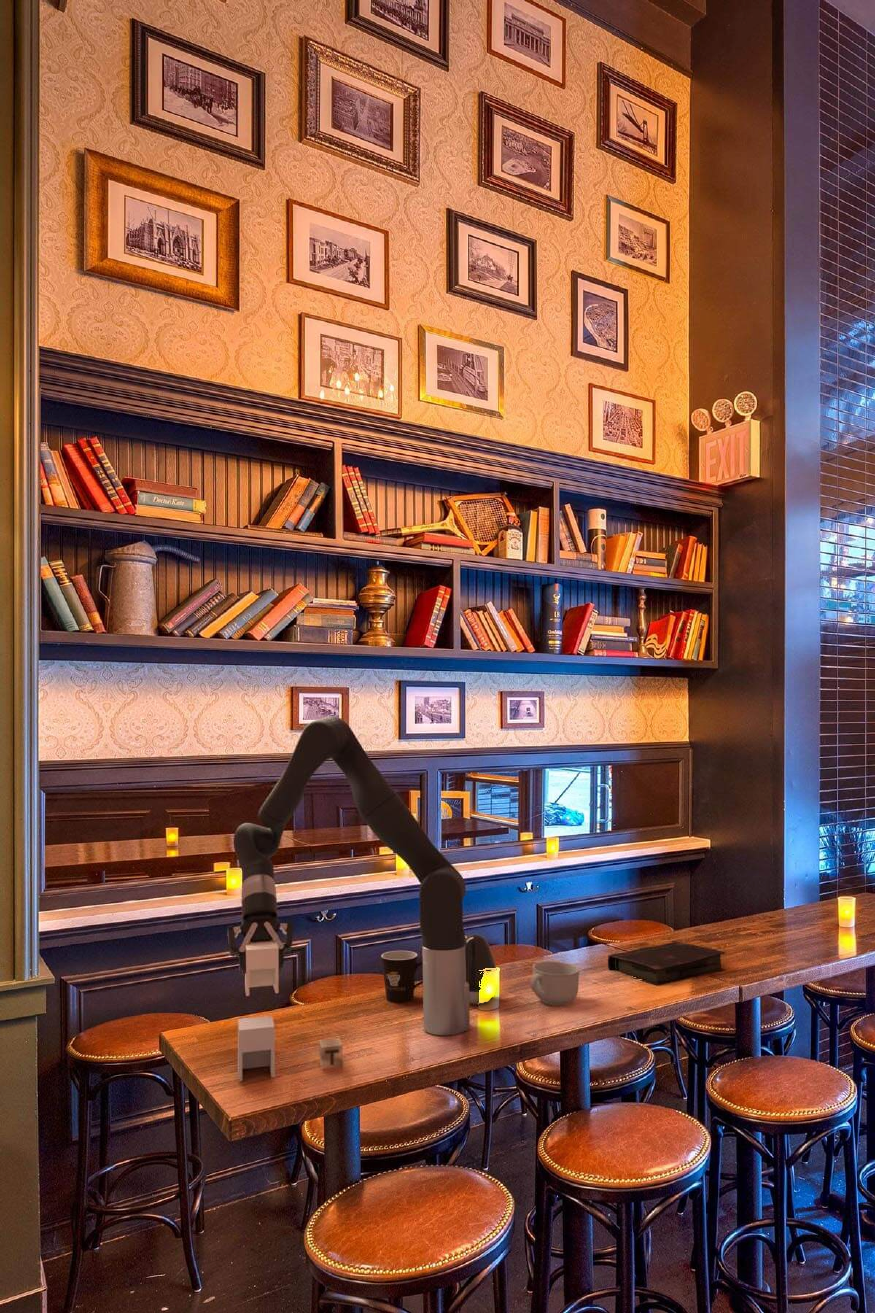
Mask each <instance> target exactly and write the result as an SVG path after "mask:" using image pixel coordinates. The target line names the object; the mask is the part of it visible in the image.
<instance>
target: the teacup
mask: <svg viewBox="0 0 875 1313" xmlns="http://www.w3.org/2000/svg"><path fill="white" fill-rule="evenodd" d="M579 980H580V968H579V967H578V966H576V965H574V964H572V963H569V962H564V961H556V960H545V961H538V962H536V963H534V964H533V965H532V976H531V978H530V984H529V985H530V989H531V990H532V991H533V993H534V994H535V996H536V997H537V998H538V999H539V1000H540V1001H541V1002H542V1003H543V1004H546V1005H550V1006H558V1007H559V1006H560V1007H561V1006H566V1005H569V1004H570V1003H571V1002H573V1001H574V1000H575V999H576V998H577V997H578V992H579Z"/></svg>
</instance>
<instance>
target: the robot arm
mask: <svg viewBox="0 0 875 1313" xmlns="http://www.w3.org/2000/svg"><path fill="white" fill-rule="evenodd" d="M328 760H332V761H333V762H334V764H336V765H337V766H338V767H339V769H340V770H341V772H342V773H343V774H344V776H345V777H346V779H347V781H348V783H349V786H350V790H351V793H352V796H353V801H354V803H355V806H356V809H357V811H358V814H359V815H360V816H361V818H362V819H363V821H364V822H365V823H366V825H367V826H368V827H369V829H370V830H371V831H372V833H373V834H374V835H375V836H376V837H377V838H378V839H379V840H380V841H381V843H383V844H384V845H385V846H386V847H387V848H388V849H390V850H391V851H392V852H393V853H395V854H396V855H397V856H398V857H399V858H401V860H402V861H404V863H406V865H407V866H408V867H409V868H410V870H411V871H412V873H413V874H414V876H415V877H416V878H417V881H418V882H419V884H420V886H419V893H418V906H419V907H418V908H419V909H418V910H419V928H420V929H419V931H420V935H421V940H422V941H421V944H422V945H421V946H422V953H421V954H422V962H423V965H422V980H423V983H422V1001H423V1002H422V1005H423V1006H422V1008H423V1010H422V1011H423V1018H422V1019H423V1020H422V1021H423V1030H424V1032H426V1033H429V1034H431V1035H435V1036H453V1035H458V1034H462V1033H464V1032H465V1031H470V1030H471V1025H470V1024H471V1022H470V1021H471V1019H470V1018H471V1016H470V1003H469V984H468V983H467V982H466V958H465V934H466V932H465V931H464V930H465V929H464V919H463V918H464V915H463V914H464V913H463V909H464V908H463V900H464V898H465V896H466V892H467V891H466V882H465V879H464V877H463V876H462V874H461V873H460V872H459V870H457V869H456V868H455V866H453V864H452V863H451V862H450V861H449V860H448V859H447V858H446V857H445V856H444V855H443V854H442V853H441V851H439V849H438V848H436V846H435V845H434V844H433V842H432V841H431V840H430V839H429V837H428V835H427V834H426V832H425V831H424V829H423V828H422V826H421V824H420V823H419V822H418V821H417V819H416V817H415V816H414V815H413V813H412V812H411V811H410V809H409V808H408V806H407V805H406V803H405V802H404V801H403V800H402V797H400V795H399V794H398V793H397V792H396V791H395V789H394V788H393V787H392V786H391V785H390V784H389V782H388V781H387V779H386V778H385V777H384V775H383V774H382V773H381V771H380V770H379V769H378V768H377V767H376V765H375V764H374V762H373V761H372V760H371V759H370V757H369V756H368V754H367V752H366V751H365V749H364V748H363V746H362V744H361V743H360V741H359V739H358V738H357V737H356V734H355V733H354V731H353V730H352V728H351V726H350V725H349V724H348V723H347V722H346V721H345V720H344V719H343V718H341V717H339V716H335V715H328V716H325V717H321V718H318V719H315V720H312V721H311V722H309V723H308V724H307V725H306V726H305V727H304V728H303V730H302V732H301V733H300V736H299V739H298V740H297V742H296V745H295V748H294V750H293V753H292V755H291V757H290V758H289V760H288V762H287V765H286V767H285V769H284V771H283V772H282V774H281V776H280V778H279V779H278V781H277V783H276V784H275V786H274V787H273V789H272V790H271V792H270V793H269V795H268V796H267V798H266V799H265V800H264V802H263V804H262V805H261V806H260V808H259V811H258V819H259V821H260V822H261V823H262V825H263V826H261V825H259V824H255V823H252V822H244V823H242V824H240V825H238V827H237V828H236V830H235V832H234V834H233V841H232V842H233V850H234V853H235V855H236V858H237V860H238V864H239V866H240V868H241V878H242V880H241V881H242V882H241V883H242V886H241V887H242V888H241V900H240V902H241V924H240V925H238V926H234V925H232V924H229V925H228V926H227V934H226V935H227V941H228V942H227V943H228V949H229V955H230V957H237V958H238V965H239V966H238V970H239V972H242V975H245V974H246V953H245V950H246V945H248V944H250V942H262V941H263V942H265V941H272V942H274V943H277V945H278V972H282V971H281V970H282V969H284V967H285V953H290V952H291V951H292V950H293V949H292V947H293V934H294V932H293V930H294V922H293V921H291V920H289V921H287V923H285V922H283V923H282V922H280V920H279V918H278V917H279V916H278V904H277V903H278V900H277V888H276V883H275V871H274V870H275V869H274V864H273V861H272V860H271V858H272V857H273V856H275V855H276V853H278V849H279V848H280V844H281V839H282V837H283V834H284V832H285V829H286V826H287V823H288V822H289V821H290V819H291V818H292V816H293V815H294V813H295V812H296V810H297V809H298V807H299V806H300V804H301V802H302V800H303V798H304V794H305V791H306V788H307V784H308V783H309V780H310V779H312V778H311V777H312V776H313V774H315V772H316V771H317V770H318V769H319V768H320V767H321V766H322V765H323V764H324V763H325V762H326V761H328ZM265 826H266V827H265ZM280 930H281V931H282V934H284V935H286V937H285V939H286V940H285V943H282V941H281V940H280V937H279V935H278V933H279V931H280ZM239 933H240V934H241V935H242V936H243V937H244V939H243V942H242V943H241V945H240V947H239V946H237V944H236V938H237V937H238V935H239Z"/></svg>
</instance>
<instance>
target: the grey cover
mask: <svg viewBox="0 0 875 1313" xmlns="http://www.w3.org/2000/svg"><path fill="white" fill-rule="evenodd" d="M275 1030H276V1029H275V1022H274V1018H273V1015H266V1016H257V1017H246V1018H238V1019H237V1076H238V1082H243V1070H245V1069H246V1070H247V1069H255V1068H262V1067H269V1072H270V1078H275V1071H276V1070H275V1069H276V1068H275V1065H276V1064H275V1062H276V1061H275V1056H276V1055H275V1054H276V1052H275V1048H276V1047H275V1044H276V1043H275V1039H276V1038H275V1037H276V1035H275Z"/></svg>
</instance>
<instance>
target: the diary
mask: <svg viewBox="0 0 875 1313" xmlns="http://www.w3.org/2000/svg"><path fill="white" fill-rule="evenodd" d="M726 953H727V952H725V951H721V950H717V949H714V948H709V947H707V946H702V945H696V944H692V943H684V942H680V941H672V942H667V943H664V944H660V945H655V946H648V947H642V948H638V949H634V950H630V951H629V950H628V951H625V952H619V953H612V954H608V956H607V966H608V967H607V969H608V971H615V972H616V971H618V972H619V973H620V972H621V973H620V974H623V975H626V976H630V977H632V976H633V977H636V978H633V979H635V980H637V979H642V980H639V981H641V982H643V983H646V984H650V985H652V986H663V985H667V984H668V983H669V984H672V983H671V982H673V983H677V981H678V982H680V981H681V980H682V981H685V979H686V980H689V979H693V978H699V977H702V976H704V975H707V974H716V973H719V972H725V971H727V969H725V968H722V960H721V959H722V958H721V957H722V956H721V955H725V954H726ZM682 981H681V982H682ZM669 984H668V985H669Z"/></svg>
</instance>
